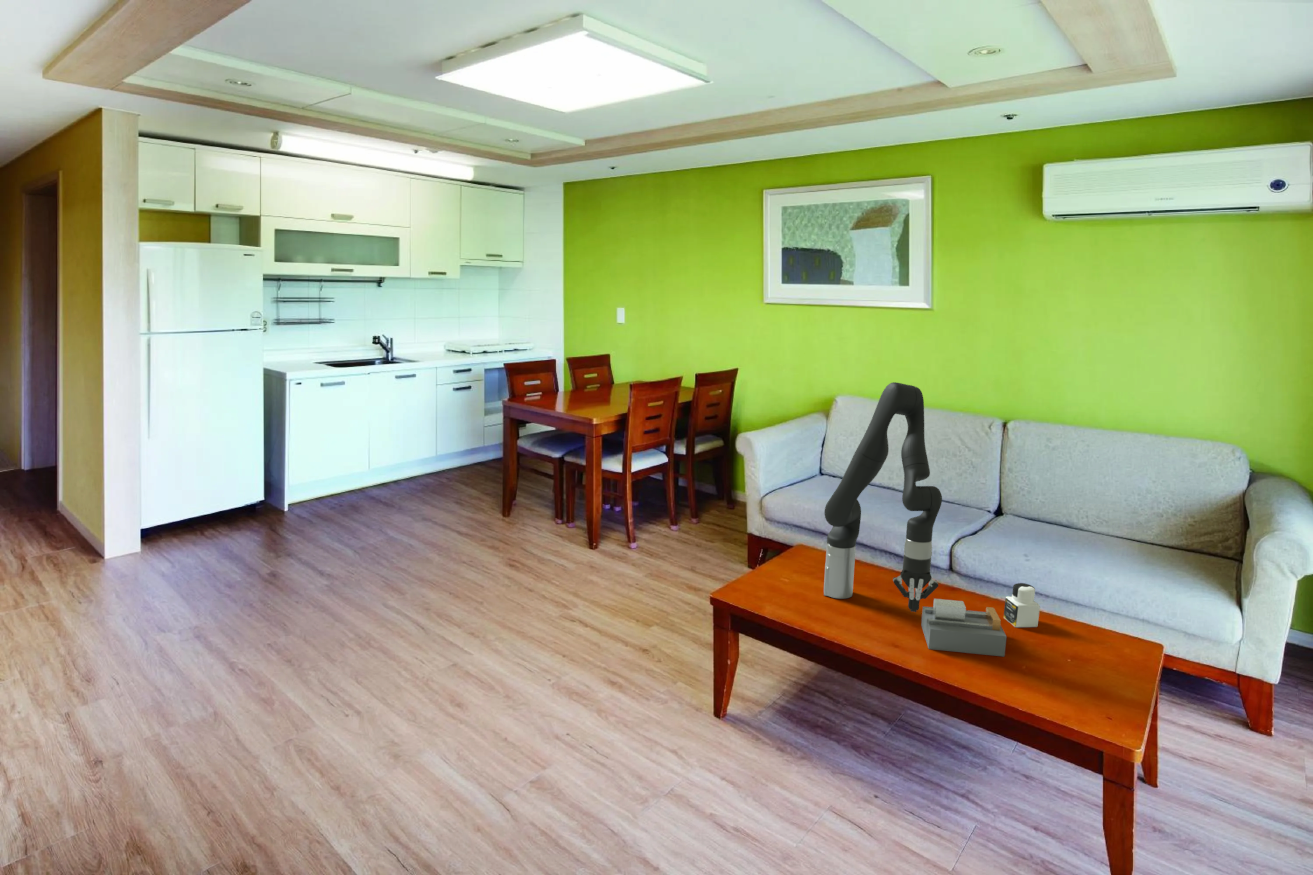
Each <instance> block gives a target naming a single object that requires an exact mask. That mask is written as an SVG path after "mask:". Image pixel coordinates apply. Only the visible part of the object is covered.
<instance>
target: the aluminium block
mask: <svg viewBox="0 0 1313 875" xmlns="http://www.w3.org/2000/svg"><path fill="white" fill-rule="evenodd" d="M932 607H933V617H934V619H935V620H946V621H957V622H965V612H966V610H967V607H966V605H965V602H964V601H963V600H953V599H942V598H933V606H932Z"/></svg>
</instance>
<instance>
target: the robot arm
mask: <svg viewBox="0 0 1313 875" xmlns="http://www.w3.org/2000/svg"><path fill="white" fill-rule="evenodd" d="M895 415H901V416H904V417H905V420H906V424H907V432H906V435H905V439H904V441H903V443H902V446H901V450H900V451H901V452H900V454H901V455H900V456H901V457H900V458H901V462H902V469H903V475H904V477H903V478H904V480H903V490H902V497H901V498H902V500H901V502H902V504H903V506H904V508H905V509H906V510H907V511H909V512H922V513H921V514H920V515H917V516H914V517H911V518H909V519H908V520H907V522H906V533H905V542H904V545H903V546H904V547H903V560H902V561H903V562H902V570H901V572H900V574H899V575H898V576H897V577H892V581H893V584H894V586H895V587H896V588H897V590H898V591H899V592H900V594H901V595H902V596H903V597H904V598H907V599H908V606H907V607H908V610H909V611H910V612H913V613H917V611H919V609H920V600H923V599H925V600H926V599H927V598H928V597H929V596H931V594H932V593H933V592H934V591H935V590H936V589H937V588H938V587H939V583H938V581H937V580H936V579H933V578H932V574H931V569H932V568H931V565H932V556H933V532H934V531H933V529H934V526H935V521H936V519H937V517H938V513H939V512H940V509H941V507H942V502H943V496H942V492H941V490H940V489H939V488H938V487H937V486H934V485H933V486H932V485H923V486H922V485H921V486H920V485H917V482H921V481H924V480H926V479H928V478H929V477H930V475H931V470H930V465H929V459H928V454H927V450H926V449H927V448H926V442H925V439H926V438H925V403H924V395H923V392H922V390H921V388H919V387H917V386H915V385H912V384H906V383H902V382H890V383H888V384H887V385H886V386H885V388H884V389H883V391H882V392H881V395H880V397H879V400H878V402H877V404H876V407H875V410H874V412H873V415H872V418H871V420H870V421H869V424H868V426H867V429H866V431H865V433H864V435H863V437H862V438H861V440H860V443H859V444H858V445H857V448H856V449H855V452H854V454H853V456H852V457H851V460H850V462H849V464H848V466H847V468H846V470H845V473H844V474H843V477H842V479H841V481H840V482H839V484H838V486H837V488H836V489H835V491H834V492H833V494H832V495H831V496H830V498H829V500H828V501H827V503H826V505H825V507H824V518H825V520H826V522H827V523H828V524H829V525H830V526H832V528H831V530H830V531H829V532H828V534H827V537H826V549H825V550H826V553H825V564H824V580H823V596H826V597H831V598H833V599H839V600H842V599H844V600H845V599H849V598H851V597H853V592H854V591H853V590H854V579H855V578H854V577H855V576H854V575H855V561H856V546H857V539H858V538H859V534H860V526H861V519H862V508H861V503H860V502H859V500H858V498H859V497H860V495H861V494H862V493H863V491H864V490H865V489H866V488H867V487H868V486H869V485H870V483H872V481H873V480H874V479H876V477H877V475H878V474H879V473H880V471H881V469H882V467H883V466H884V464H885V462H886V460H887V458H888V455H889V439H888V438H889V437H888V429H889V426H890V423H891V422H892V419H893V418H894V416H895ZM903 582H904V584H905V585H906V587H907V588H908V591H907V590H906V589H905V587H904V586H903V585H902V584H903ZM926 585H927V587H926ZM925 587H926V588H925ZM923 588H924V589H923Z"/></svg>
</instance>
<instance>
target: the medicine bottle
mask: <svg viewBox="0 0 1313 875" xmlns="http://www.w3.org/2000/svg"><path fill="white" fill-rule="evenodd" d="M1035 593H1036V588H1035V587H1034V586H1032V585H1031V584H1028V583H1026V582H1025V583H1023V582H1018V583H1014V584H1013V585H1012V594H1011V596H1005V599H1004V600H1005V601H1004V608H1003V609H1004V610H1003V611H1004V612H1003V619H1004V620H1006V621H1007V622H1008V623H1010V624H1011V625H1012V626H1013V627H1014V628H1037V627H1038V624H1039V619H1040V618H1039V617H1040V610H1041V605H1040V604H1039V603H1037V602H1036V601H1035V595H1036V594H1035Z"/></svg>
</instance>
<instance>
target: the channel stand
mask: <svg viewBox="0 0 1313 875" xmlns="http://www.w3.org/2000/svg"><path fill="white" fill-rule="evenodd" d="M985 607H986V608H985V611H978V610H967V609H966V612H965V622H957V621H946V620H935V619H934V617H933V606H922V610H921V611H922V612H921V613H922V614H921V621H920V622H921V629H922V632H923V634H924V635H923V636H924V639H925V641H926V644H927V648H928V650H933V651H934V650H936V651H947V652H956V653H966V654H974V655H975V654H976V655H983V656H985V655H986V656H997V657H1005V656H1006V645H1007V635H1006V632H1005V631H1004V628H1003V627H1002V624H1001V623H1002V622H1001V621H1002V620H1001V618H1000V617H999V614H998V613H997V610H996V608H994V607H989V606H985Z"/></svg>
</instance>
